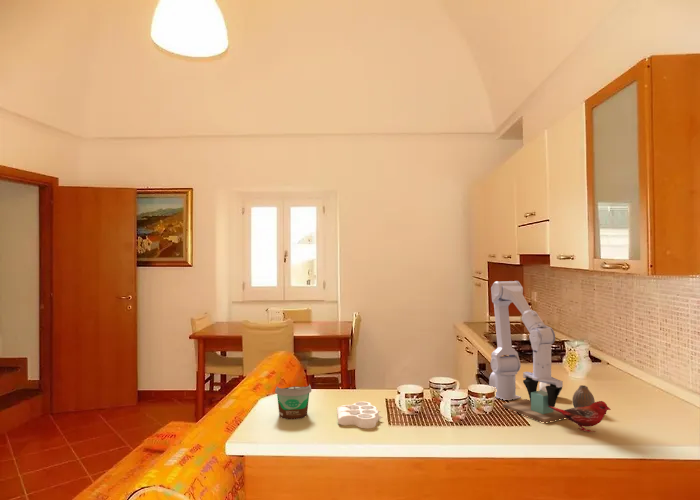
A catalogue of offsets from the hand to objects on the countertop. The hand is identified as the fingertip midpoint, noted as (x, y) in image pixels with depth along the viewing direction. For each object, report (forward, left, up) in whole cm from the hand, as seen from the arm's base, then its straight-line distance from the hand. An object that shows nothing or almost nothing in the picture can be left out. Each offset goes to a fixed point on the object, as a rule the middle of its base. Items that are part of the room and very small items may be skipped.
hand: (542, 403), depth 165 cm
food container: (-38, -74, -4) cm, 83 cm away
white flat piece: (-27, -56, -5) cm, 62 cm away
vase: (+4, +16, -4) cm, 17 cm away
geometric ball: (-13, +20, -4) cm, 24 cm away
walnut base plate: (-3, 0, -4) cm, 5 cm away
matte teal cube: (0, 0, -2) cm, 2 cm away
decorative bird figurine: (+15, -2, -4) cm, 16 cm away
